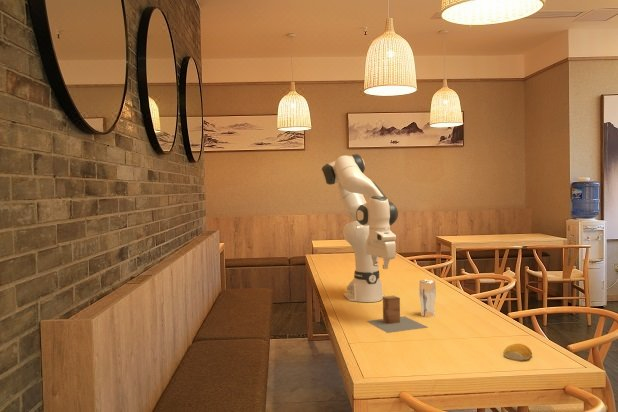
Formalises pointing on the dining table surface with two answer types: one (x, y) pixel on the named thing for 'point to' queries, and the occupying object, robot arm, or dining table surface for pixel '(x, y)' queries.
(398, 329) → the rubber mat
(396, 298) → the walnut block
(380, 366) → the dining table surface
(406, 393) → the dining table surface
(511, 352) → the bread roll
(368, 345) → the dining table surface
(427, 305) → the beer glass
